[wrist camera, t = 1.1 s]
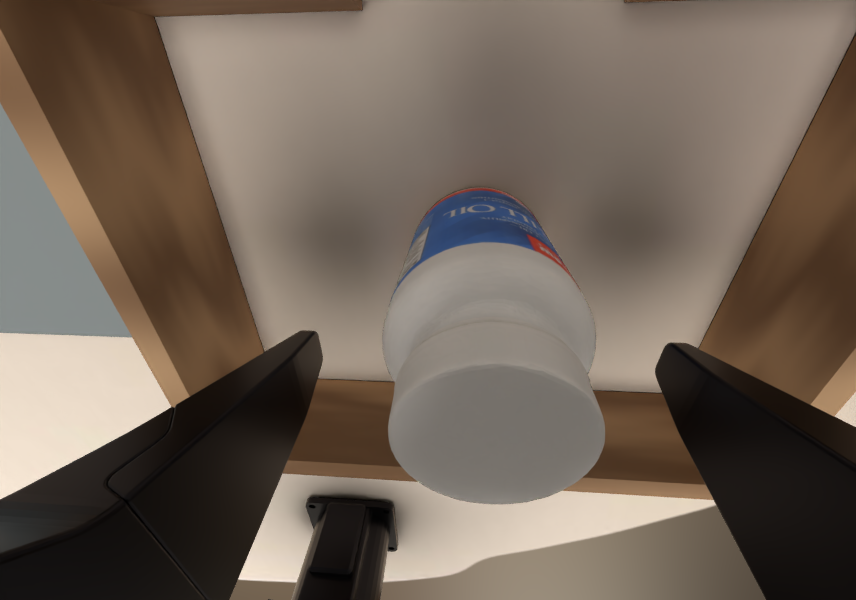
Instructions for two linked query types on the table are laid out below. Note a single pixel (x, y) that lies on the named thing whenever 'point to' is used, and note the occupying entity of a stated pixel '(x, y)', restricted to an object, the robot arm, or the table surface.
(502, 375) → the pill bottle
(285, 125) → the table surface
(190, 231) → the walnut box
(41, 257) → the slate mat
